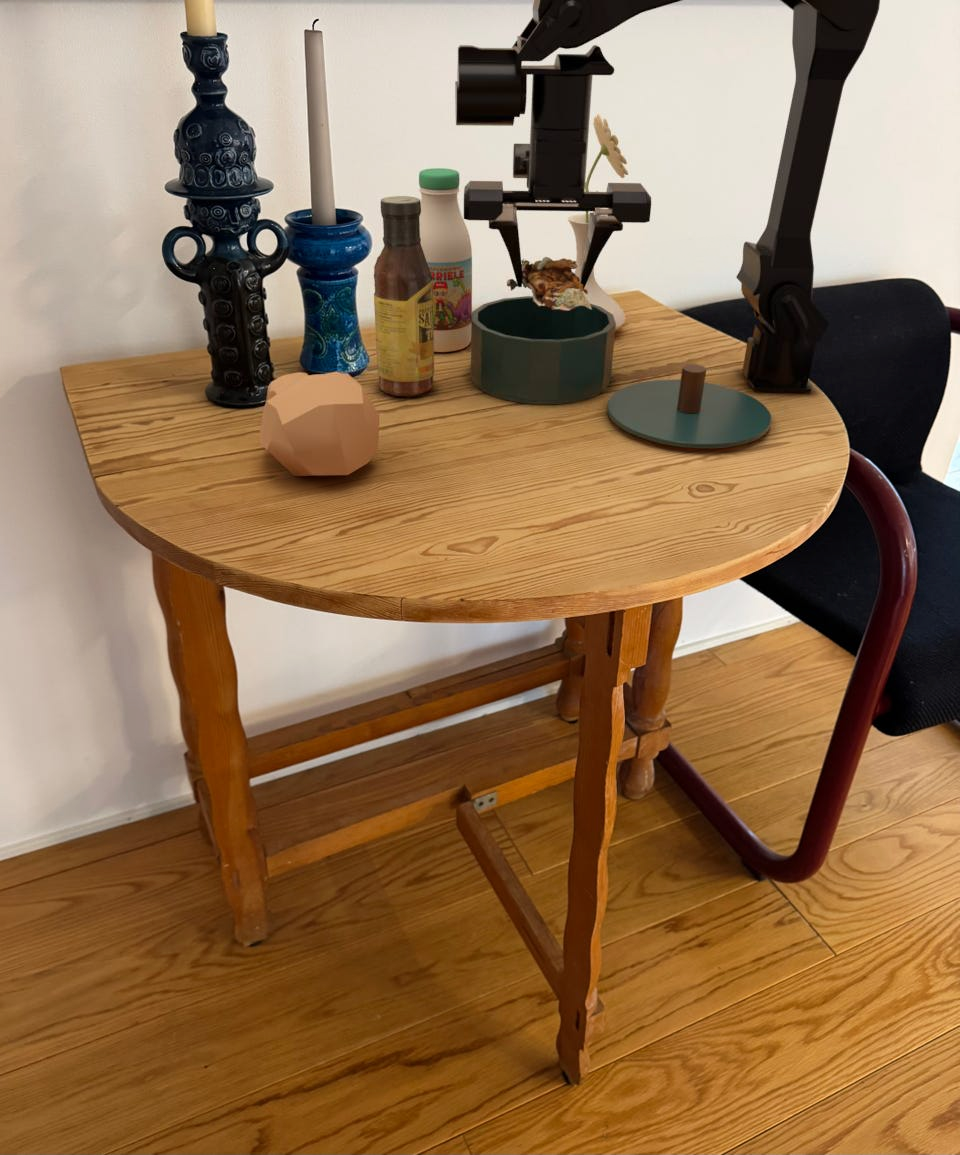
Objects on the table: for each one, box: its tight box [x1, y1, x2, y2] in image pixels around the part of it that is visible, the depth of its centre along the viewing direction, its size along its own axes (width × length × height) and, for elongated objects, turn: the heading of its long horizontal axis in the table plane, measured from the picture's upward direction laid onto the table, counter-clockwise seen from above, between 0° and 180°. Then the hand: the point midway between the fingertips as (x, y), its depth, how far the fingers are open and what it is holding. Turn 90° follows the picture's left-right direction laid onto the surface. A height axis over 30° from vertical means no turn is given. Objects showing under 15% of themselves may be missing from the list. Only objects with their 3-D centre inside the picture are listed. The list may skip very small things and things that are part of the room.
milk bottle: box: [418, 167, 473, 353], centre depth 112 cm, size 8×8×20 cm
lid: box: [606, 363, 772, 449], centre depth 98 cm, size 17×17×6 cm
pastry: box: [506, 256, 592, 311], centre depth 101 cm, size 7×12×4 cm, turn 24°
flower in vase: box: [567, 113, 629, 332], centre depth 117 cm, size 13×11×25 cm
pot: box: [470, 295, 616, 405], centre depth 107 cm, size 16×16×7 cm
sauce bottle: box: [373, 195, 435, 397], centre depth 100 cm, size 6×6×20 cm
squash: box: [257, 371, 380, 477], centre depth 90 cm, size 11×20×9 cm, turn 24°
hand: (551, 286), depth 101 cm, fingers closed on pastry, 6 cm apart
